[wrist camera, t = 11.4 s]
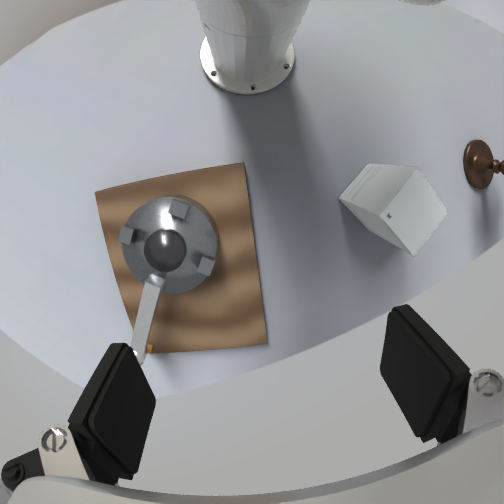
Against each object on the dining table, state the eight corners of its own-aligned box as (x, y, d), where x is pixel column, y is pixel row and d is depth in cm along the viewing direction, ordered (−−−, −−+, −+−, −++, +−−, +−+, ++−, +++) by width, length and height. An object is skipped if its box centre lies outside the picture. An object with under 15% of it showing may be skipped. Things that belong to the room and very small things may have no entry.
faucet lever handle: (146, 181, 34) (127, 186, 28) (232, 213, 36) (230, 225, 30) (112, 325, 41) (96, 349, 34) (180, 352, 42) (172, 379, 36)
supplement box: (368, 231, 40) (413, 260, 28) (336, 197, 38) (376, 214, 26) (398, 196, 38) (450, 213, 26) (368, 161, 36) (418, 164, 24)
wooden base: (101, 190, 36) (94, 192, 34) (243, 162, 36) (243, 162, 34) (145, 346, 44) (142, 354, 42) (266, 336, 44) (267, 344, 42)
